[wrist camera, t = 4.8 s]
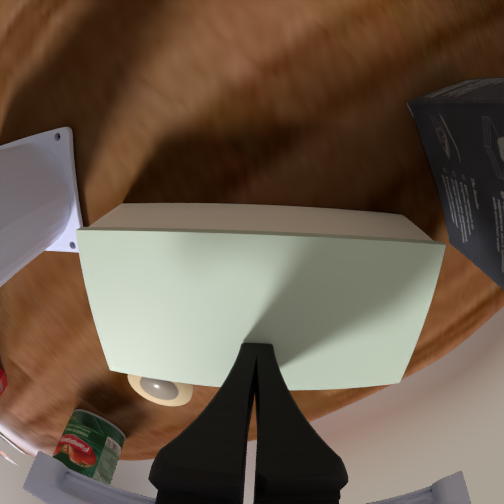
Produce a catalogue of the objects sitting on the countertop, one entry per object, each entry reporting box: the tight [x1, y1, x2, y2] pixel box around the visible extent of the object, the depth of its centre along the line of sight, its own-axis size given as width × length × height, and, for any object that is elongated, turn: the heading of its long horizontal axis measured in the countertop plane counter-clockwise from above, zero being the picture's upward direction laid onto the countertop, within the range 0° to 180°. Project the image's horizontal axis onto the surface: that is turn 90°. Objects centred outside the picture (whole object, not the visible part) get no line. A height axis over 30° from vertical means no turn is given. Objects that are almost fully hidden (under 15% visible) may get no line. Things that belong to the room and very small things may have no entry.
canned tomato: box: [53, 409, 126, 485], centre depth 23 cm, size 8×8×11 cm
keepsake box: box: [89, 203, 434, 241], centre depth 15 cm, size 16×8×4 cm, turn 89°
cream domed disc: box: [128, 374, 194, 406], centre depth 20 cm, size 5×5×2 cm
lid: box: [75, 227, 446, 390], centre depth 12 cm, size 16×8×1 cm, turn 89°
